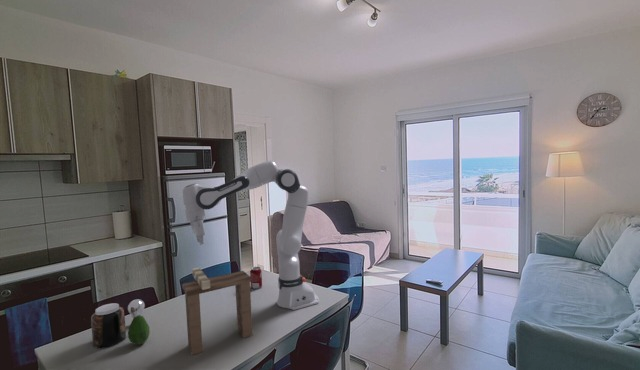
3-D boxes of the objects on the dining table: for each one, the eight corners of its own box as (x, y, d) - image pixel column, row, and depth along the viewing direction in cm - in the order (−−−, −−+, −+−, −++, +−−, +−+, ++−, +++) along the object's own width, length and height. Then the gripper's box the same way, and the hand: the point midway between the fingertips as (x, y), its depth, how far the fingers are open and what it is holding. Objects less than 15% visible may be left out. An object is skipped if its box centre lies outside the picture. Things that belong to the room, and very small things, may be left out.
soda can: (259, 289, 187) (258, 270, 186) (249, 289, 189) (248, 269, 188) (263, 285, 194) (263, 266, 193) (253, 284, 195) (252, 266, 194)
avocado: (145, 336, 140) (143, 310, 139) (153, 342, 135) (151, 315, 134) (125, 344, 133) (123, 317, 133) (133, 351, 128) (130, 322, 128)
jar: (106, 350, 129) (103, 315, 128) (86, 346, 133) (83, 311, 132) (132, 335, 140) (129, 303, 139) (113, 331, 144) (110, 300, 143)
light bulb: (125, 326, 149) (123, 302, 148) (138, 319, 155) (136, 296, 154) (136, 328, 146) (134, 303, 145) (149, 321, 153) (147, 297, 152)
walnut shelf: (186, 343, 133) (182, 283, 131) (245, 325, 147) (243, 270, 145) (190, 355, 124) (186, 291, 122) (253, 334, 138) (250, 277, 136)
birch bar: (192, 275, 141) (192, 268, 140) (199, 274, 142) (199, 267, 142) (202, 290, 124) (202, 282, 123) (210, 288, 125) (210, 280, 125)
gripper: (205, 216, 150) (210, 244, 151) (200, 214, 168) (204, 239, 169) (191, 218, 147) (196, 247, 148) (187, 216, 166) (192, 242, 166)
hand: (200, 243), depth 159 cm, fingers open, 8 cm apart
